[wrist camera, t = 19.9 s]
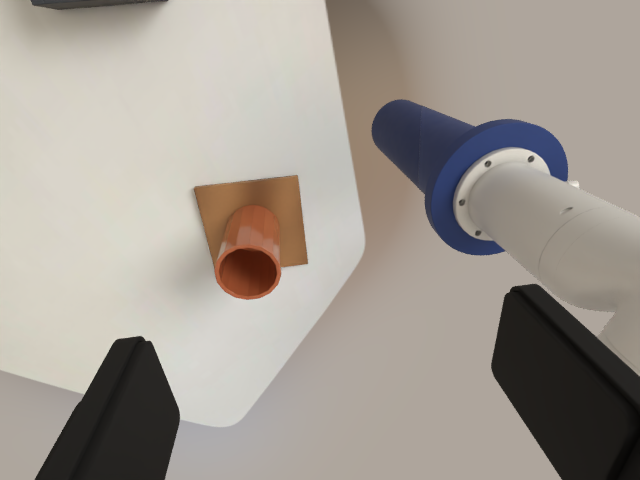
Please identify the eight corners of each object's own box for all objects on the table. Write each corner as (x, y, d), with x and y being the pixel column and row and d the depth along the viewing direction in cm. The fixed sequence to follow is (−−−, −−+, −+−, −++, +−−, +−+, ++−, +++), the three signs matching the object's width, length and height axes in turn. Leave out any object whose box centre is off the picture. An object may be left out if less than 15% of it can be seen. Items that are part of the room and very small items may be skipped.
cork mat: (297, 174, 43) (297, 176, 42) (307, 261, 48) (307, 263, 48) (194, 186, 42) (193, 188, 42) (217, 272, 48) (216, 275, 47)
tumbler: (276, 201, 43) (275, 241, 35) (283, 248, 46) (284, 295, 38) (222, 208, 43) (208, 249, 34) (232, 254, 46) (222, 303, 37)
